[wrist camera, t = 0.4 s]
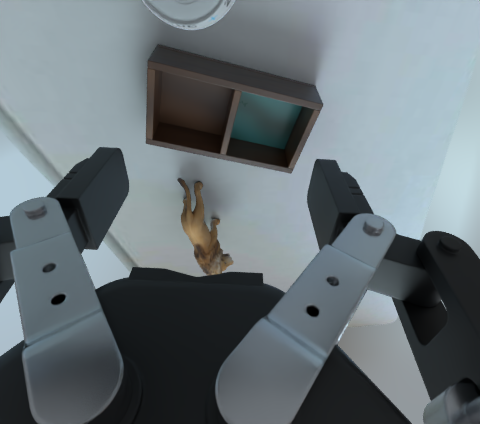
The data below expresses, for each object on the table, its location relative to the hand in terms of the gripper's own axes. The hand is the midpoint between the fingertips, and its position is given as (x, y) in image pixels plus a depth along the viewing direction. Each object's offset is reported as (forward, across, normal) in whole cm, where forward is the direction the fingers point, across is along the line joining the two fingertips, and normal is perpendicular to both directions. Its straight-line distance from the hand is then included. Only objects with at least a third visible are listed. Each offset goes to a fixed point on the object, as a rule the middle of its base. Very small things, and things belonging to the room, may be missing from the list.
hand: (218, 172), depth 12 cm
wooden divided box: (+24, 0, +5) cm, 24 cm away
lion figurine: (+26, +4, +23) cm, 34 cm away
